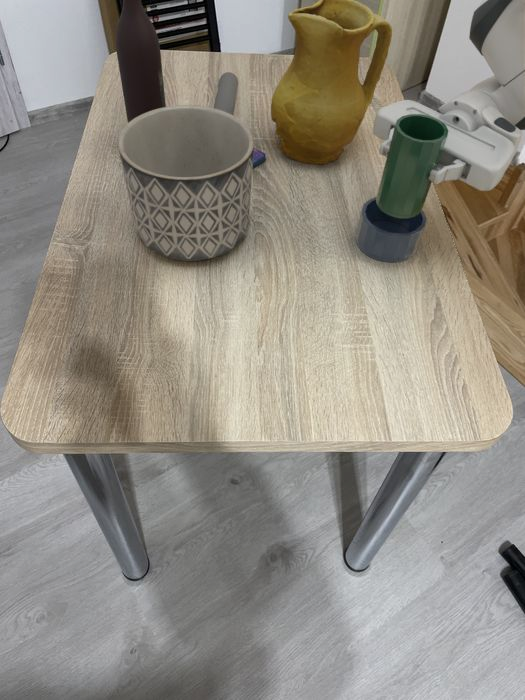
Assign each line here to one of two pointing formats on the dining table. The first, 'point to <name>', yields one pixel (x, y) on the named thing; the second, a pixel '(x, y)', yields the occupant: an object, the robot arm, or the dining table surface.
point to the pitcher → (327, 79)
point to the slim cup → (410, 164)
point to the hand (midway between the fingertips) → (408, 164)
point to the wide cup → (388, 234)
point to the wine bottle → (139, 61)
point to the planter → (188, 180)
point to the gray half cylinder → (226, 93)
